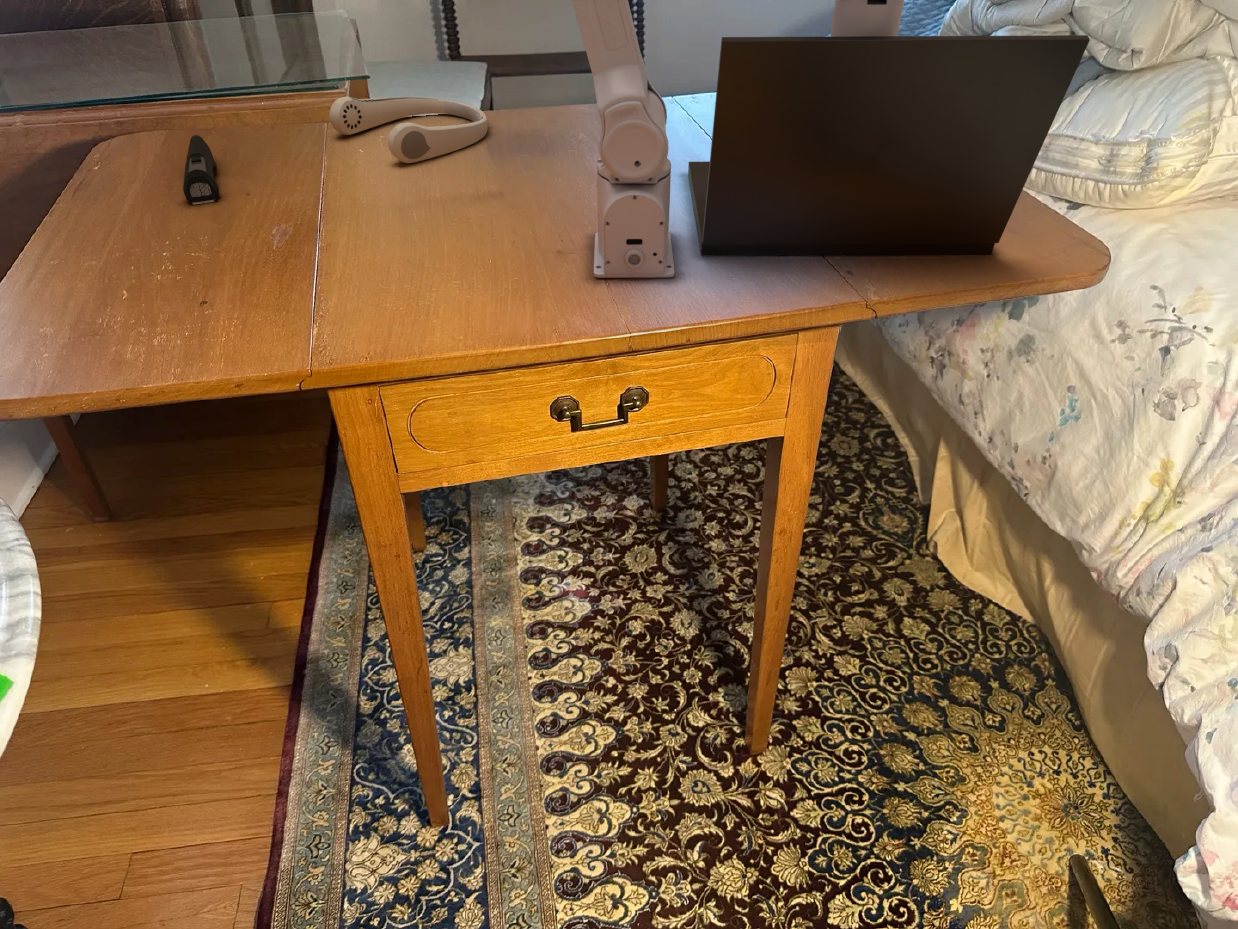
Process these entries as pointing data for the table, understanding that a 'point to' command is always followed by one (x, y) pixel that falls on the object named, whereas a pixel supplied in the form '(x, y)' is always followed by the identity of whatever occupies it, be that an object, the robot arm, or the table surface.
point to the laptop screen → (879, 136)
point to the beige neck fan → (410, 124)
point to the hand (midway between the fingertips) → (836, 195)
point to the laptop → (699, 192)
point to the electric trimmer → (200, 173)
